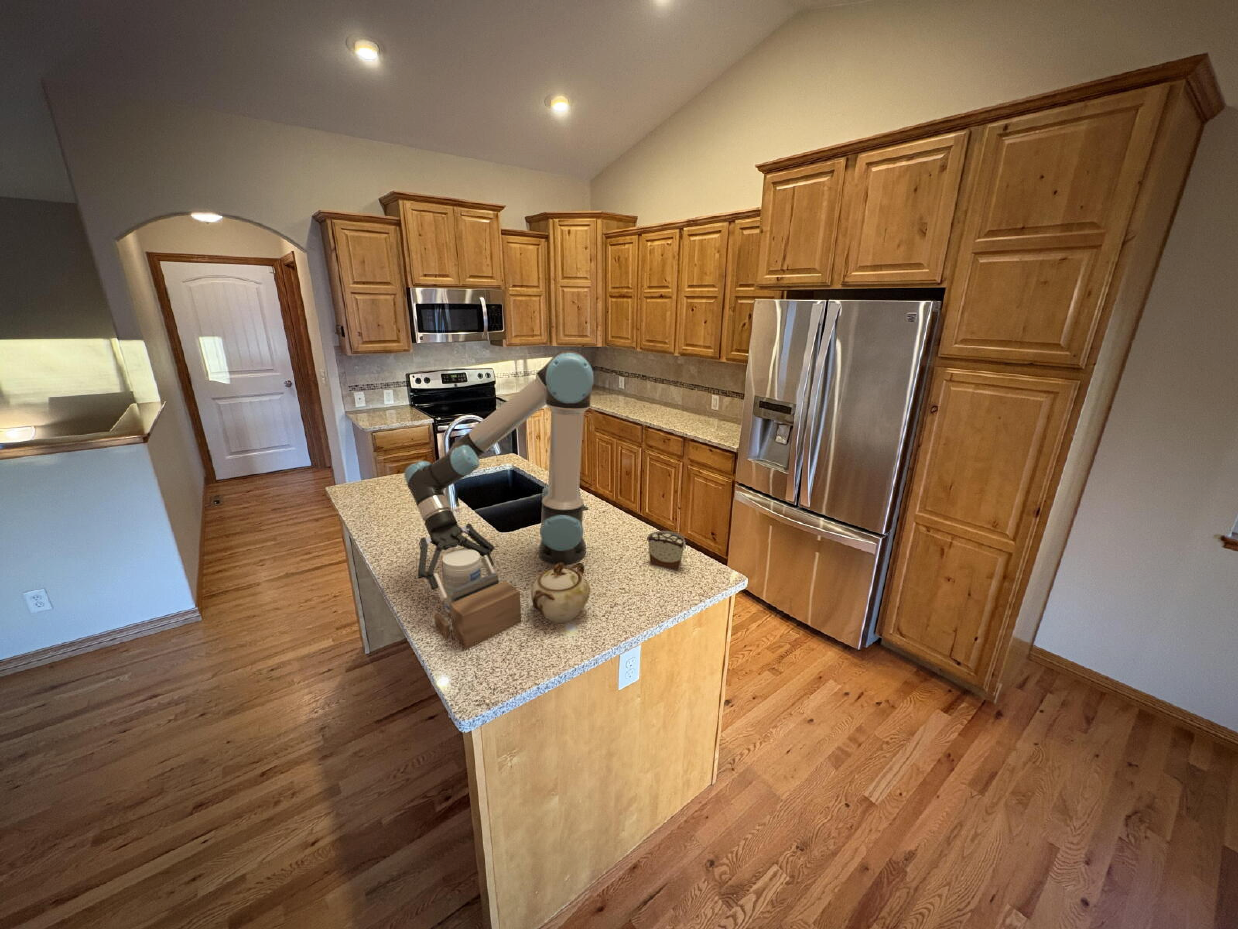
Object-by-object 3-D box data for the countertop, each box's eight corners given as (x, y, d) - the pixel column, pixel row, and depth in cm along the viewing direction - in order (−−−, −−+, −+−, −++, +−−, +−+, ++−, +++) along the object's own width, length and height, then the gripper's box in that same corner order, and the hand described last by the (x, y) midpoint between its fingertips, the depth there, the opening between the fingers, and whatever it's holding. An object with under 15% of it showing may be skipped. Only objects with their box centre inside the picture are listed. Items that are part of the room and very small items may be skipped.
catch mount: (435, 626, 119) (431, 595, 117) (499, 598, 131) (497, 569, 129) (460, 652, 111) (456, 619, 108) (526, 619, 123) (524, 589, 120)
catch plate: (453, 624, 119) (449, 589, 116) (496, 605, 127) (494, 571, 124) (457, 628, 117) (453, 592, 114) (500, 608, 125) (498, 574, 122)
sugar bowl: (559, 645, 114) (557, 589, 109) (512, 623, 121) (509, 570, 117) (605, 604, 130) (606, 554, 125) (562, 587, 137) (561, 539, 132)
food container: (689, 564, 151) (691, 535, 147) (683, 573, 145) (685, 543, 142) (652, 555, 155) (653, 527, 152) (645, 564, 150) (646, 534, 147)
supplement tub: (480, 616, 124) (479, 565, 119) (441, 618, 122) (438, 567, 117) (483, 594, 133) (481, 547, 128) (446, 597, 131) (444, 548, 126)
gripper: (476, 509, 138) (507, 576, 133) (386, 536, 122) (417, 613, 116) (484, 497, 133) (517, 566, 127) (391, 523, 116) (424, 604, 111)
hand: (470, 589), depth 122 cm, fingers open, 13 cm apart
